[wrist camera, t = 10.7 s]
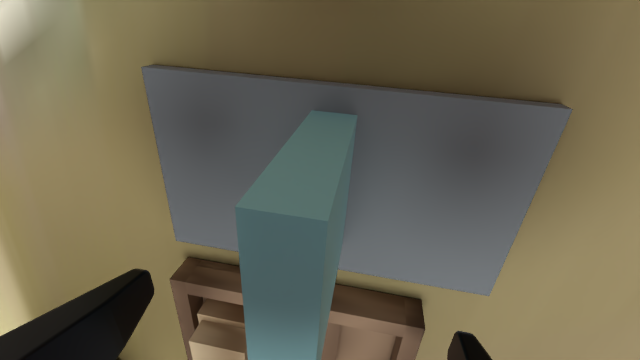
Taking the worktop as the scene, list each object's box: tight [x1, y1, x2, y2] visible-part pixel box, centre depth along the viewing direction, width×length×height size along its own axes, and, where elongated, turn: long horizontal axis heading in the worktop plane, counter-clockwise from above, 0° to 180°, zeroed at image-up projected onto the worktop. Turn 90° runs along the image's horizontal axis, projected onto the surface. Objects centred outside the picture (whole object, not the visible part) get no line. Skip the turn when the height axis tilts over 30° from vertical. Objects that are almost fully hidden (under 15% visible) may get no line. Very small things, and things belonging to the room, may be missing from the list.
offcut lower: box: [197, 298, 245, 329], centre depth 22 cm, size 4×7×2 cm, turn 177°
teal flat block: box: [235, 110, 357, 360], centre depth 12 cm, size 2×7×8 cm, turn 177°
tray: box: [170, 257, 425, 360], centre depth 21 cm, size 15×12×2 cm
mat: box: [141, 65, 573, 296], centre depth 16 cm, size 18×10×1 cm, turn 87°
